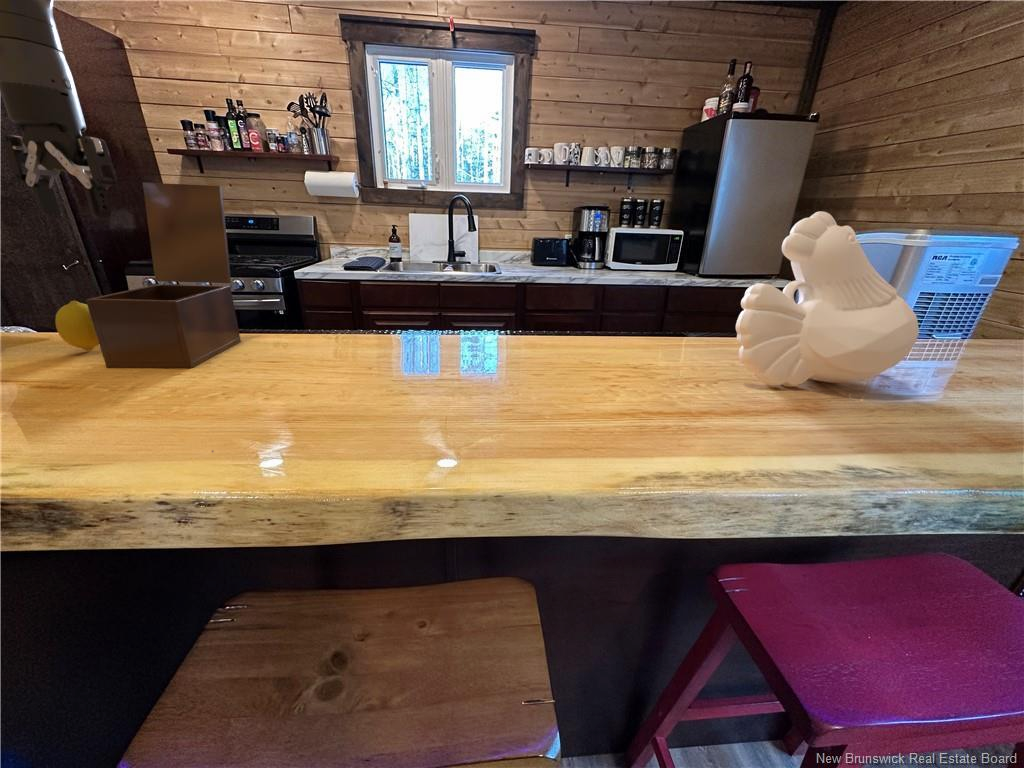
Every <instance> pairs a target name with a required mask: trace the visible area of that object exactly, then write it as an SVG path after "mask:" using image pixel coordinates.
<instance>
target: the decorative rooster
mask: <svg viewBox="0 0 1024 768" xmlns="http://www.w3.org/2000/svg"><path fill="white" fill-rule="evenodd" d="M781 252H782V254H783V256H784V257H785V258H786V259H788V260H789V261H790V266H791V270H792V273H793V276H794V279H795V280H792V281H790V282H789V283H787V285H785V287H784V288H783V289H782V290H780V289H779V288H777V287H775V286H773V285H771V284H769V283H761V282H757V283H755V284H753V285H750V286H749V287H748V288H747V289H746V290H745V292H744V295H743V297H742V299H741V301H740V306H741V307H740V308H742V309H743V310H742V311H741V312H740V313H739V315H738V317H737V320H736V323H735V331H736V341H737V343H738V344H739V345H741V346H740V347H739V350H738V358H739V361H740V362H741V363H742V364H744V366H745V369H746V370H747V371H749V372H751V373H752V374H753V376H754V377H756V378H757V379H758V380H759V381H760V382H761V383H763V384H765V385H767V386H770V387H775V386H776V387H777V386H781V385H782V386H783V387H786V388H795V387H796V386H799V385H801V384H803V383H804V382H806V381H807V380H814V381H818V382H824V383H832V384H837V383H838V384H839V383H853V382H863V381H868V380H871V379H873V378H876V377H877V376H879V375H881V374H882V373H884V372H886V371H887V370H889V369H891V368H893V367H895V366H896V365H898V364H900V363H901V362H902V361H903V360H904V359H905V358H906V357H907V356H908V355H909V354H910V352H911V351H912V350H913V348H914V346H915V345H916V343H917V341H918V338H919V335H920V330H919V322H918V317H917V314H916V313H915V312H914V310H913V309H912V308H911V306H910V305H909V304H908V303H907V302H906V300H905V299H904V298H902V297H901V296H900V295H898V294H897V293H898V290H897V289H896V288H895V287H894V286H893V285H891V283H889V282H887V280H886V279H884V277H882V276H881V274H880V273H878V271H877V270H876V269H875V268H874V266H873V265H872V264H871V262H870V261H869V259H868V257H867V255H866V253H865V252H864V249H863V248H862V246H861V244H860V242H859V240H858V239H857V235H856V232H855V230H854V229H853V228H852V226H850V225H842V226H841V225H838V224H837V221H836V220H835V218H834V217H833V216H832V215H831V213H828V212H827V211H823V210H822V211H816V212H814V213H813V214H811V215H810V216H809V217H804V218H802V219H800V220H799V221H797V222H796V223H794V225H793V226H792V227H791V229H790V231H789V234H788V235H787V236H786V237H785V238H784V239H783V241H782V244H781ZM797 290H798V302H797V303H796V302H795V292H796V291H797Z"/></svg>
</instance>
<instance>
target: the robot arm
mask: <svg viewBox="0 0 1024 768" xmlns="http://www.w3.org/2000/svg"><path fill="white" fill-rule="evenodd" d="M0 94H1V95H0V96H1V98H2V101H3V104H4V107H5V110H6V113H7V116H8V119H9V120H10V121H11V122H12V123H13V124H16V125H18V126H19V127H20V128H21V131H22V136H21V135H14V134H7V133H3V134H2V141H3V144H4V148H5V151H6V155H7V159H8V162H9V165H10V169H11V172H12V175H13V178H14V180H15V181H16V182H22V183H25V184H26V185H27V186H29V187H30V188H31V191H32V193H33V197H34V199H35V202H36V205H37V208H38V209H39V211H40V213H41V214H42V215H44V216H60V215H62V210H61V207H60V203H59V201H58V200H59V199H58V198H57V194H56V191H55V188H52V187H53V185H54V181H55V179H56V177H58V176H60V174H61V172H68V173H69V174H70V175H72V176H74V177H76V179H77V180H78V181H79V182H80V183H81V184H82V186H83V187H84V188H86V189H84V190H83V191H84V193H85V196H86V201H87V204H88V205H87V206H88V208H89V212H90V214H91V216H92V217H93V218H96V219H110V218H111V216H112V215H111V213H112V209H111V206H110V202H109V198H108V195H107V190H108V189H109V187H112V186H114V187H115V186H118V184H119V183H118V178H117V174H116V171H115V168H114V165H113V162H112V159H111V155H110V152H109V149H108V146H107V143H106V141H105V140H104V139H102V138H97V137H92V136H87V135H83V134H82V133H83V132H86V131H87V125H86V121H85V117H84V113H83V109H82V106H81V103H80V99H79V96H78V91H77V88H76V84H75V81H74V78H73V74H72V70H71V68H70V66H69V64H68V61H67V59H66V56H65V52H64V48H63V45H62V41H61V38H60V34H59V31H58V28H57V24H56V21H55V18H54V0H0ZM22 164H24V167H25V168H26V170H27V172H24V171H23V167H22ZM101 168H102V169H103V173H104V175H103V173H102V170H101ZM41 175H42V177H41Z"/></svg>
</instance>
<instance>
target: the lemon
mask: <svg viewBox="0 0 1024 768" xmlns="http://www.w3.org/2000/svg"><path fill="white" fill-rule="evenodd" d="M54 321H55V328H56V331H57V334H58V335H59V337H60V338H61V339H62V340H63V341H64V342H65V343H66V344H68V345H69V346H72V347H75V348H80V349H82V350H84V351H86V352H91V351H93V350H94V349H95V347H97V346H100V344H99V341H98V338H97V335H96V331H95V328H94V325H93V322H92V319H91V315H90V312H89V309H88V306H87V303H83V302H79V301H77V300H70V302H69V303H67V304H65V305H63V306H61V307H60V308H59V309H58V310H57V312H56V313H55V320H54Z"/></svg>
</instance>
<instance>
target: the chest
mask: <svg viewBox="0 0 1024 768" xmlns="http://www.w3.org/2000/svg"><path fill="white" fill-rule="evenodd" d="M85 302H86V305H87V306H88V309H89V312H90V315H91V319H92V322H93V325H94V328H95V331H96V335H97V338H98V341H99V348H100V351H101V354H102V357H103V361H104V364H105V367H106V368H134V369H135V368H137V369H138V368H140V369H143V368H145V369H146V368H147V369H148V368H149V369H153V368H154V369H192V368H195V367H196V366H198V365H200V364H202V363H204V362H206V361H207V360H209V359H211V358H213V357H215V356H217V355H218V354H220V353H222V352H224V351H226V350H228V349H230V348H232V347H233V346H235V345H237V344H239V343H241V342H242V340H241V334H240V329H239V325H238V320H237V314H236V309H235V304H234V298H233V293H232V287H231V286H230V285H213V284H212V285H208V284H172V283H171V284H169V283H167V284H166V283H156V284H152V285H151V284H150V285H146V286H142V287H138V288H133V289H128V290H123V291H119V292H114V293H110V294H104V295H99V296H96V297H91V298H86V299H85Z"/></svg>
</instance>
